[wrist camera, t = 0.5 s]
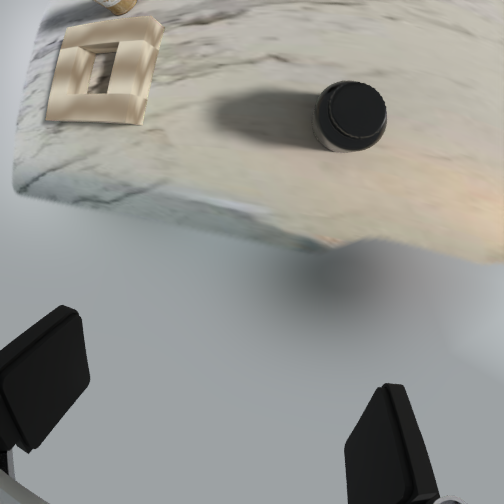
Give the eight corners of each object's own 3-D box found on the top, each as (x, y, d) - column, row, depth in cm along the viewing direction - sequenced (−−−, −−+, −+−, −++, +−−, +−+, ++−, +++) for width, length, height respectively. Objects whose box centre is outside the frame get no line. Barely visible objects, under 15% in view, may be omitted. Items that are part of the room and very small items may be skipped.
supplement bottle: (342, 86, 32) (362, 54, 20) (379, 131, 32) (416, 120, 21) (298, 119, 34) (299, 100, 22) (335, 165, 34) (355, 167, 23)
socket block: (84, 35, 33) (67, 27, 28) (164, 27, 32) (150, 15, 27) (64, 121, 37) (45, 120, 33) (142, 125, 36) (125, 122, 32)
